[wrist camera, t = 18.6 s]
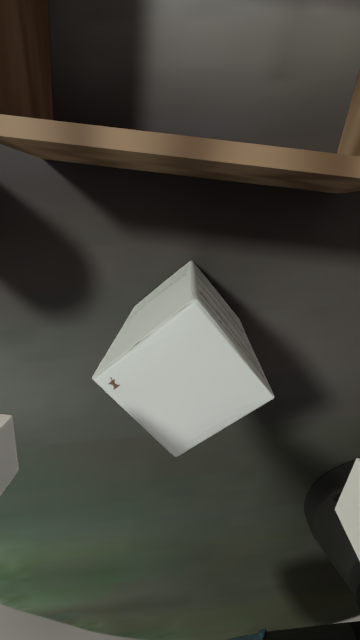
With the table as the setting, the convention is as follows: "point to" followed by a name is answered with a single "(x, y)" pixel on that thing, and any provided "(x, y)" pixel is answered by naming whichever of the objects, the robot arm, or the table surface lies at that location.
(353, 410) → the table surface
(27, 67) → the walnut bin
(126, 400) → the supplement box
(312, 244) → the table surface
